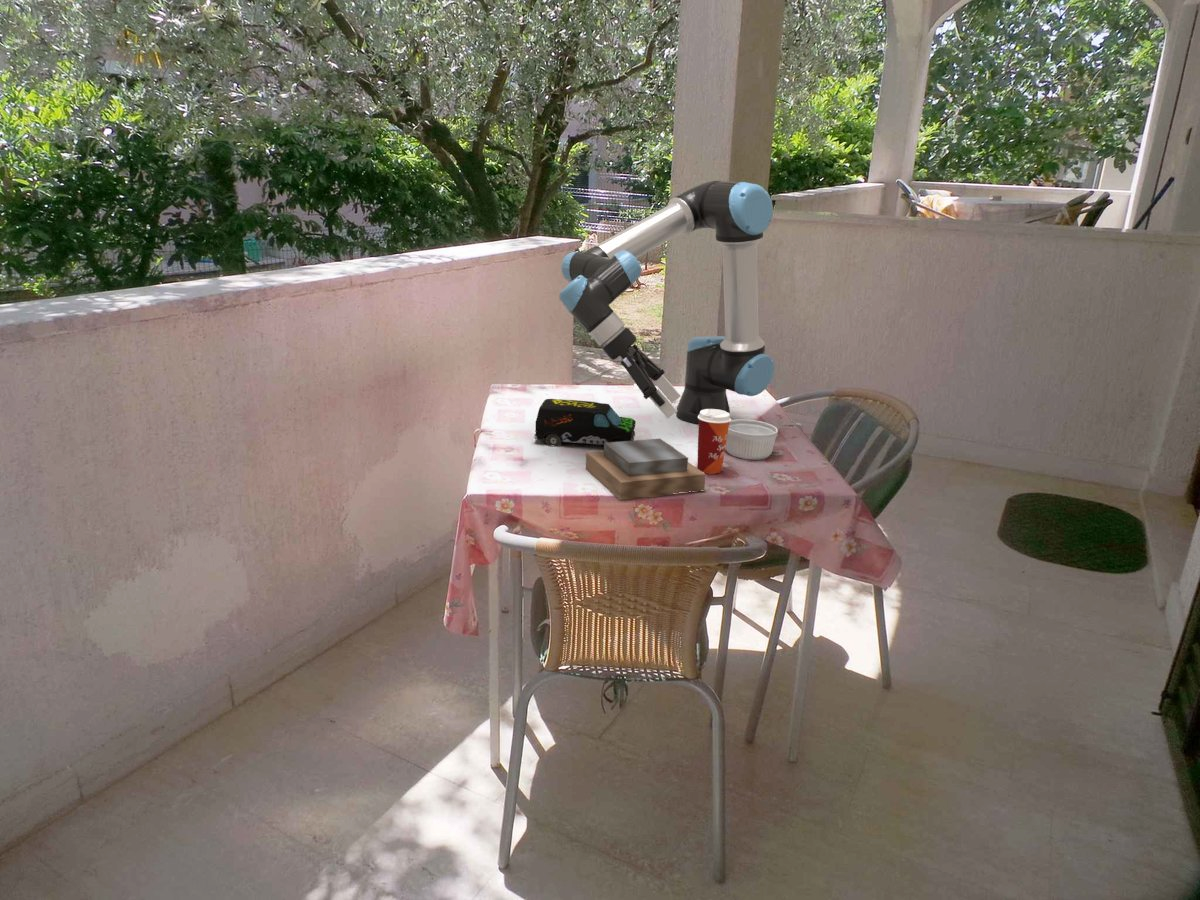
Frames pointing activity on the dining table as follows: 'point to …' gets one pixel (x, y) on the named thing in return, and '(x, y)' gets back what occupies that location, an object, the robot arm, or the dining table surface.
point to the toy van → (581, 423)
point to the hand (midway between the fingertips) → (674, 407)
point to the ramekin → (750, 439)
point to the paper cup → (712, 439)
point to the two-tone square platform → (643, 469)
